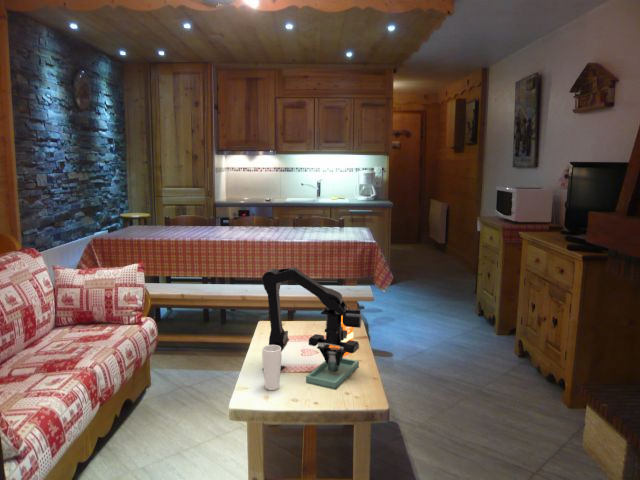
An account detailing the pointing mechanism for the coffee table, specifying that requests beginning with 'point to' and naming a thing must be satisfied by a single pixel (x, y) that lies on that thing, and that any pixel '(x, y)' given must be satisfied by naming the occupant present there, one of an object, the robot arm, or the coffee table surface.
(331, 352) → the grey flanged cylinder
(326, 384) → the tray
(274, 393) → the coffee table surface
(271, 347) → the drinking glass
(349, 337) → the orange juice
